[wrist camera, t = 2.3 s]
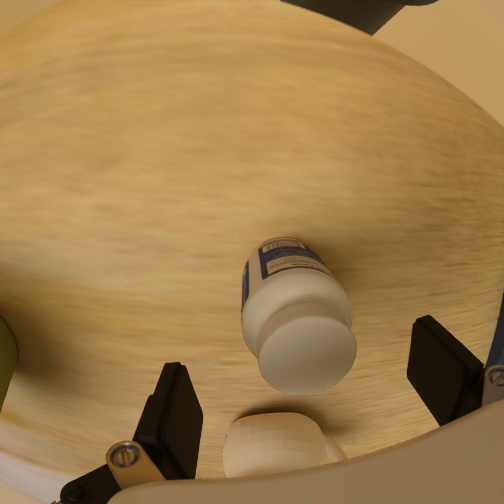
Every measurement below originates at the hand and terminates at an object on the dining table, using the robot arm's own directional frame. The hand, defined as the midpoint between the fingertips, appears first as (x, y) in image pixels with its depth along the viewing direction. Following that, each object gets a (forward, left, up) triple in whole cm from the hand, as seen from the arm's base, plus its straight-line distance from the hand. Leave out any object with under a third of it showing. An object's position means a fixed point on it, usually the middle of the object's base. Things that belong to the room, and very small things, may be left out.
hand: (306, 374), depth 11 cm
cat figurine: (+16, -2, -10) cm, 19 cm away
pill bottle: (0, 0, -10) cm, 10 cm away
